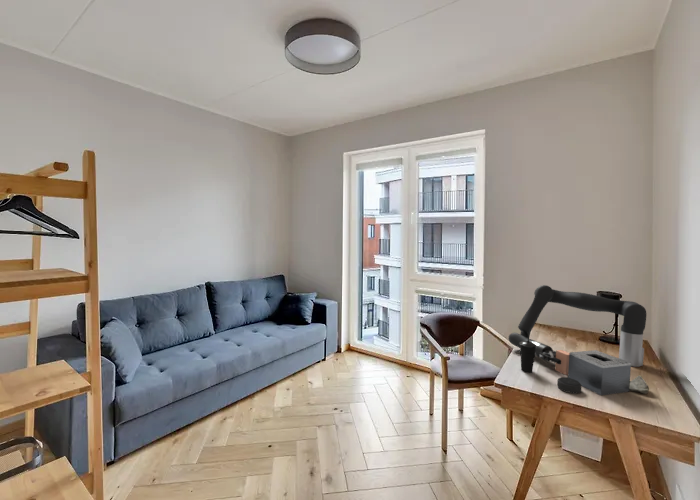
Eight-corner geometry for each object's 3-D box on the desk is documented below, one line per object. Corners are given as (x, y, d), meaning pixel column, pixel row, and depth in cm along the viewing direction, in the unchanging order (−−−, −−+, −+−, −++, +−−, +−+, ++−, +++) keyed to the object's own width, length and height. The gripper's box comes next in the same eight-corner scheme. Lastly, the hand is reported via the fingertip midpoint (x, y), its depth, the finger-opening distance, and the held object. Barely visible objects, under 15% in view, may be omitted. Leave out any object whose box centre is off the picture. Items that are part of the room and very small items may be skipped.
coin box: (594, 376, 163) (595, 350, 162) (628, 391, 147) (631, 362, 147) (567, 379, 159) (569, 352, 158) (600, 395, 143) (602, 365, 142)
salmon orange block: (555, 369, 169) (556, 350, 169) (560, 369, 170) (561, 350, 170) (565, 374, 164) (566, 354, 163) (571, 374, 165) (572, 354, 164)
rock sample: (615, 375, 155) (634, 367, 150) (625, 385, 156) (645, 377, 152) (624, 394, 146) (646, 386, 142) (636, 404, 147) (657, 397, 143)
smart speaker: (554, 389, 148) (555, 380, 148) (560, 383, 155) (560, 374, 154) (578, 396, 142) (578, 387, 142) (583, 390, 148) (583, 381, 148)
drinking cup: (533, 369, 170) (535, 330, 169) (536, 375, 163) (539, 334, 161) (517, 366, 172) (519, 328, 171) (519, 372, 165) (521, 332, 164)
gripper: (530, 344, 178) (556, 355, 163) (551, 342, 182) (579, 353, 166) (529, 357, 179) (555, 370, 163) (550, 355, 183) (578, 368, 167)
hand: (567, 361), depth 165 cm, fingers open, 7 cm apart
